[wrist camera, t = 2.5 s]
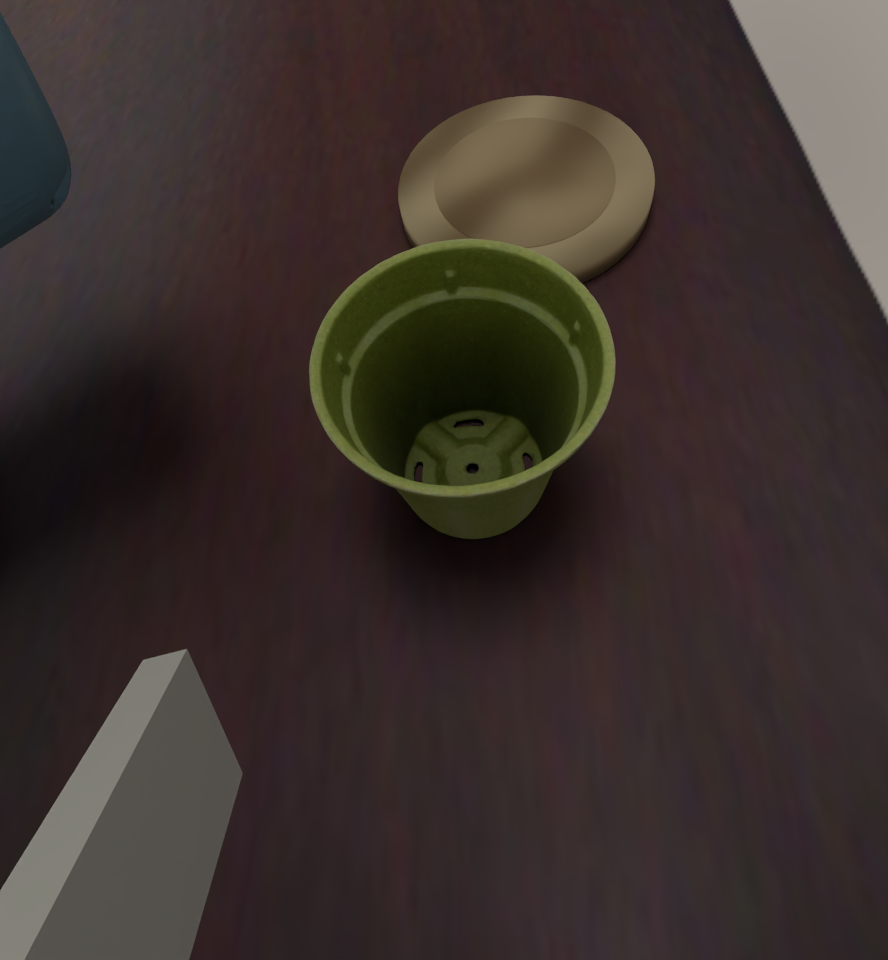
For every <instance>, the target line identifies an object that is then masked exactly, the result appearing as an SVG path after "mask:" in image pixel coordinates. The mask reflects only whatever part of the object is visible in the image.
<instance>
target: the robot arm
mask: <svg viewBox="0 0 888 960" xmlns="http://www.w3.org/2000/svg"><path fill="white" fill-rule="evenodd" d="M70 180H71V163H70V158H69V154H68V149H67V146H66V144H65V141H64V138H63V135H62V133H61V131H60V129H59V126H58V124H57V122H56V120H55V117H54V115H53V113H52V111H51V109H50V107H49V104H48V103H47V101H46V99H45V97H44V95H43V93H42V91H41V89H40V87H39V85H38V83H37V81H36V79H35V77H34V75H33V73H32V71H31V69H30V67H29V65H28V63H27V61H26V59H25V58H24V56H23V54H22V52H21V50H20V48H19V46H18V44H17V42H16V40H15V38H14V37H13V35H12V33H11V31H10V29H9V27H8V26H7V24H6V22H5V20H4V18H3V16H2V14H1V13H0V248H2V247H4V246H5V245H7V244H8V243H10V242H12V241H13V240H15V239H16V238H18V237H19V236H21V235H23V234H24V233H26V232H27V231H29V230H31V229H32V228H34V227H35V226H37V225H38V224H40V223H42V222H43V221H45V220H46V219H48V218H49V217H51V216H52V215H53V214H54V213H55V212H56V211H57V210H58V209H59V208H60V207H61V205H62V204H63V202H64V201H65V199H66V197H67V195H68V191H69V188H70ZM242 774H243V773H242V771H241V768H240V766H239V764H238V762H237V759H236V757H235V755H234V753H233V751H232V748H231V746H230V744H229V742H228V739H227V737H226V735H225V733H224V730H223V728H222V726H221V724H220V721H219V719H218V717H217V715H216V712H215V710H214V708H213V706H212V704H211V701H210V699H209V697H208V695H207V692H206V690H205V688H204V686H203V683H202V681H201V679H200V677H199V674H198V672H197V670H196V668H195V665H194V663H193V661H192V659H191V657H190V654H189V652H188V650H187V649H185V650H181V651H177V652H173V653H169V654H165V655H161V656H157V657H153V658H149V659H145V660H143V661H142V662H141V664H140V666H139V667H138V669H137V671H136V672H135V674H134V675H133V677H132V679H131V680H130V682H129V683H128V685H127V687H126V688H125V690H124V692H123V693H122V695H121V696H120V698H119V700H118V701H117V703H116V704H115V706H114V708H113V709H112V711H111V713H110V714H109V716H108V717H107V719H106V721H105V722H104V724H103V725H102V727H101V729H100V730H99V732H98V734H97V735H96V737H95V738H94V740H93V742H92V743H91V745H90V746H89V748H88V750H87V751H86V753H85V755H84V756H83V758H82V759H81V761H80V763H79V764H78V766H77V767H76V769H75V771H74V772H73V774H72V775H71V777H70V779H69V780H68V782H67V784H66V785H65V787H64V788H63V790H62V792H61V793H60V795H59V796H58V798H57V800H56V801H55V803H54V805H53V806H52V808H51V809H50V811H49V813H48V814H47V816H46V817H45V819H44V821H43V822H42V824H41V826H40V827H39V829H38V830H37V832H36V834H35V835H34V837H33V838H32V840H31V842H30V843H29V845H28V847H27V848H26V850H25V851H24V853H23V855H22V856H21V858H20V859H19V861H18V863H17V864H16V866H15V868H14V869H13V871H12V872H11V874H10V876H9V877H8V879H7V880H6V882H5V884H4V885H3V887H2V889H1V890H0V960H189V958H190V955H191V951H192V948H193V944H194V941H195V937H196V934H197V930H198V927H199V923H200V920H201V916H202V913H203V909H204V906H205V902H206V899H207V895H208V892H209V888H210V885H211V882H212V878H213V875H214V871H215V868H216V864H217V861H218V857H219V854H220V850H221V847H222V843H223V840H224V836H225V833H226V829H227V826H228V822H229V819H230V815H231V812H232V809H233V805H234V802H235V798H236V795H237V791H238V788H239V784H240V781H241V777H242Z"/></svg>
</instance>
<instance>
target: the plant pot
mask: <svg viewBox="0 0 888 960" xmlns="http://www.w3.org/2000/svg"><path fill="white" fill-rule="evenodd" d="M614 377H615V350H614V344H613V339H612V336H611V332H610V328H609V325H608V323H607V320H606V318H605V316H604V314H603V312H602V310H601V308H600V306H599V304H598V303H597V301H596V300H595V299H594V297H593V296H592V295H591V294H590V292H589V291H588V290H587V289H586V287H585V286H584V285H583V284H582V283H581V282H580V281H579V280H578V279H577V278H576V277H575V276H574V275H573V274H571V273H570V272H569V271H567V270H566V269H564V268H563V267H561V266H560V265H559V264H557V263H556V262H555V261H553V260H551V259H550V258H548V257H546V256H543V255H541V254H539V253H537V252H535V251H532V250H530V249H527V248H524V247H521V246H517V245H513V244H508V243H504V242H499V241H491V240H484V239H456V240H447V241H440V242H433V243H429V244H425V245H421V246H418V247H415V248H413V249H410V250H407V251H404V252H402V253H399V254H397V255H395V256H393V257H391V258H390V259H387V260H385V261H383V262H381V263H379V264H378V265H376V266H375V267H374V268H372V269H370V270H369V271H368V272H366V273H365V274H363V275H362V276H360V277H359V278H358V279H357V280H356V281H354V282H353V283H352V284H351V285H350V286H349V287H348V288H347V289H346V290H345V291H344V292H343V293H342V294H341V296H340V297H339V298H338V299H337V301H336V302H335V303H334V304H333V306H332V307H331V308H330V310H329V311H328V313H327V315H326V316H325V318H324V320H323V321H322V324H321V326H320V328H319V330H318V333H317V335H316V338H315V342H314V345H313V348H312V352H311V358H310V366H309V378H310V391H311V397H312V401H313V404H314V407H315V410H316V413H317V415H318V418H319V420H320V422H321V424H322V426H323V428H324V429H325V431H326V433H327V434H328V436H329V437H330V439H331V440H332V441H333V443H334V444H335V445H336V447H337V448H338V449H339V450H340V451H341V452H342V453H343V454H344V456H345V457H346V458H347V459H348V460H349V461H351V462H352V463H353V464H354V465H355V466H356V467H358V468H359V469H360V470H362V471H363V472H364V473H366V474H367V475H369V476H371V477H372V478H374V479H376V480H377V481H379V482H381V483H383V484H385V485H387V486H390V487H392V488H395V489H396V490H397V491H398V492H399V493H400V494H401V496H402V497H403V498H404V499H405V500H406V502H407V503H408V504H409V505H410V507H411V508H412V509H413V510H414V512H415V513H416V514H417V515H418V516H419V517H420V518H421V519H422V520H423V521H424V522H426V523H427V524H428V525H430V526H431V527H433V528H434V529H436V530H437V531H439V532H441V533H444V534H447V535H449V536H453V537H458V538H463V539H481V538H488V537H492V536H495V535H499V534H502V533H504V532H506V531H508V530H510V529H512V528H513V527H515V526H516V525H518V524H519V523H520V522H521V521H522V520H523V519H525V518H526V517H527V516H528V515H529V514H530V512H531V511H532V510H533V509H534V508H535V506H536V505H537V503H538V502H539V500H540V498H541V496H542V494H543V492H544V490H545V487H546V485H547V483H548V481H549V479H550V477H551V474H552V472H553V470H555V469H556V468H557V467H559V466H560V465H562V464H563V463H564V462H565V461H566V460H568V459H569V458H570V457H571V456H572V455H573V454H574V453H575V452H576V451H577V450H578V449H579V448H580V447H581V446H582V445H583V444H584V443H585V442H586V441H587V439H588V438H589V437H590V435H591V434H592V432H593V431H594V429H595V428H596V426H597V425H598V423H599V421H600V419H601V417H602V415H603V413H604V411H605V409H606V407H607V404H608V402H609V399H610V396H611V392H612V388H613V384H614ZM464 420H481V421H483V422H484V425H483V426H470V425H469V426H462V427H457V428H454V425H455V424H456V423H457V422H460V421H464ZM523 453H527V454H529V455H530V457H531V458H532V461H533V467H532V468H530V469H528V470H525V465H524V461H523V458H522V455H523ZM418 462H422V463H423V472H422V482H423V483H420V482H416V481H415V479H414V469H415V466H416V465H417V463H418ZM469 464H477V465H478V467H479V469H478V471H477V473H472V474H471V473H468V472H467V470H466V467H467V466H468V465H469Z"/></svg>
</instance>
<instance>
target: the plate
mask: <svg viewBox="0 0 888 960" xmlns="http://www.w3.org/2000/svg"><path fill="white" fill-rule="evenodd" d="M654 186H655V176H654V168H653V164H652V160H651V157H650V155H649V153H648V151H647V149H646V147H645V145H644V144H643V142H642V141H641V139H640V138H639V137H638V136H637V135H636V134H635V133H634V131H633V130H632V129H631V128H630V127H628V126H627V125H626V124H625V123H623V122H622V121H621V120H620V119H618V118H616V117H615V116H613V115H612V114H610V113H608V112H606V111H604V110H602V109H600V108H598V107H595V106H592V105H590V104H587V103H584V102H580V101H576V100H572V99H568V98H561V97H554V96H518V97H510V98H504V99H499V100H494V101H490V102H487V103H483V104H480V105H477V106H474V107H472V108H469V109H467V110H464V111H462V112H460V113H458V114H456V115H454V116H452V117H450V118H449V119H447V120H446V121H444V122H443V123H441V124H440V125H438V126H437V127H436V128H434V129H433V130H432V131H431V132H429V133H428V134H427V135H426V136H425V137H424V138H423V139H422V140H421V141H420V142H419V143H418V145H417V146H416V147H415V149H414V150H413V151H412V153H411V154H410V156H409V158H408V159H407V161H406V163H405V165H404V168H403V171H402V173H401V176H400V182H399V187H398V201H399V206H400V211H401V216H402V221H403V225H404V230H405V233H406V235H407V238H408V240H409V242H410V244H411V246H412V247H413V248H415V247H418V246H421V245H425V244H429V243H433V242H440V241H447V240H456V239H484V240H491V241H499V242H504V243H508V244H513V245H517V246H521V247H524V248H527V249H530V250H532V251H535V252H537V253H539V254H541V255H543V256H546V257H548V258H550V259H551V260H553V261H555V262H556V263H557V264H559V265H560V266H561V267H563V268H564V269H566V270H567V271H569V272H570V273H571V274H573V275H574V276H575V277H576V278H577V279H578V280H579V281H580V282H581V283H584V282H586V281H589V280H591V279H593V278H595V277H597V276H598V275H600V274H602V273H603V272H605V271H607V270H608V269H609V268H611V267H612V266H613V265H615V264H616V263H617V262H619V261H620V260H621V259H622V258H623V257H624V256H625V255H626V254H627V253H628V252H629V251H630V250H631V248H632V247H633V246H634V244H635V243H636V242H637V240H638V239H639V237H640V235H641V233H642V231H643V229H644V228H645V225H646V222H647V219H648V216H649V211H650V207H651V203H652V199H653V193H654Z"/></svg>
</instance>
